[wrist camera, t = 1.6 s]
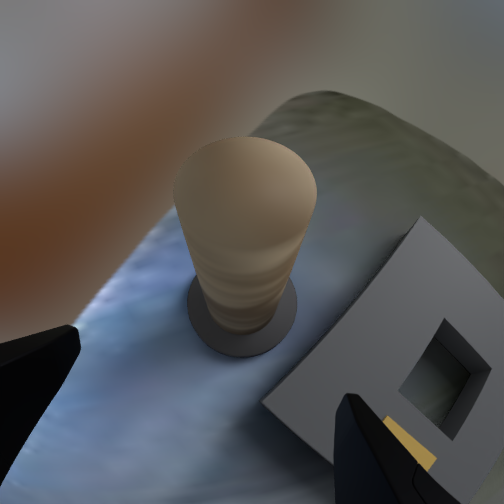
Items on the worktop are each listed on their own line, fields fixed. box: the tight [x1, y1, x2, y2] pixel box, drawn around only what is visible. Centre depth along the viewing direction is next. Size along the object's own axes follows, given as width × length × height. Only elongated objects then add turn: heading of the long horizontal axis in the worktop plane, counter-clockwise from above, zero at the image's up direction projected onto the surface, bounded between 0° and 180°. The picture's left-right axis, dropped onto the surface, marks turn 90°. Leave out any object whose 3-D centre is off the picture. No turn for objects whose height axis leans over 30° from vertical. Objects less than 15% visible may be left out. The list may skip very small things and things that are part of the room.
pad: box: [187, 275, 297, 358], centre depth 22 cm, size 8×8×1 cm
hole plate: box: [259, 216, 504, 504], centre depth 19 cm, size 20×20×3 cm
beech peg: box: [173, 137, 317, 335], centre depth 16 cm, size 5×5×13 cm
